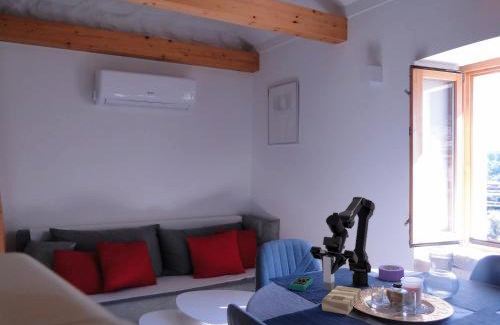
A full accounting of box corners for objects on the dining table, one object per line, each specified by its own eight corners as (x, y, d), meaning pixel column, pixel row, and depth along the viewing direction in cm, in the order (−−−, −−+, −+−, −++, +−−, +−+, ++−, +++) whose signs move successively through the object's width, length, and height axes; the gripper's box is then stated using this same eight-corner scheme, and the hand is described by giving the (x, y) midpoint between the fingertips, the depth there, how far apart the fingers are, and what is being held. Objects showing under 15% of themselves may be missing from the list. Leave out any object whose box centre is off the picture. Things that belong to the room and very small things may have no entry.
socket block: (337, 295, 179) (337, 285, 179) (361, 298, 175) (360, 288, 174) (321, 310, 162) (321, 299, 162) (347, 314, 157) (347, 303, 157)
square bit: (327, 287, 168) (326, 254, 168) (334, 288, 166) (333, 255, 166) (323, 289, 166) (323, 256, 165) (331, 290, 164) (330, 257, 164)
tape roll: (377, 280, 201) (377, 269, 201) (379, 273, 212) (379, 263, 212) (403, 282, 196) (403, 271, 196) (404, 275, 207) (404, 265, 207)
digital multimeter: (313, 283, 199) (313, 276, 199) (304, 292, 185) (304, 285, 185) (298, 281, 202) (298, 275, 202) (288, 290, 188) (288, 283, 188)
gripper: (311, 226, 174) (299, 258, 165) (354, 230, 163) (343, 265, 155) (320, 242, 181) (308, 274, 172) (362, 246, 170) (352, 281, 161)
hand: (327, 273), depth 165 cm, fingers closed on square bit, 3 cm apart
